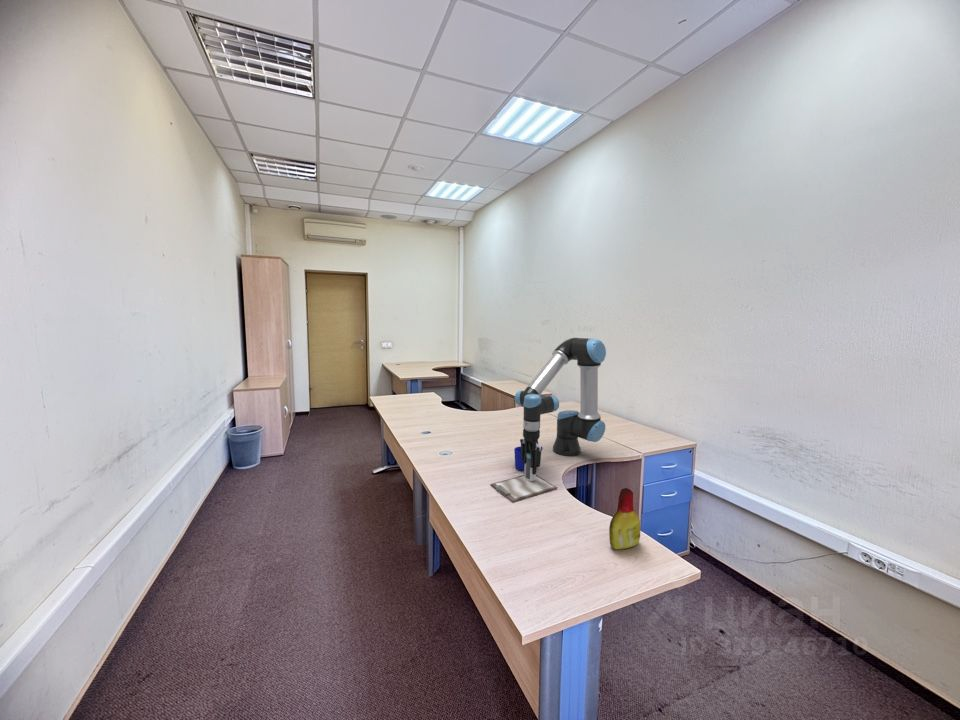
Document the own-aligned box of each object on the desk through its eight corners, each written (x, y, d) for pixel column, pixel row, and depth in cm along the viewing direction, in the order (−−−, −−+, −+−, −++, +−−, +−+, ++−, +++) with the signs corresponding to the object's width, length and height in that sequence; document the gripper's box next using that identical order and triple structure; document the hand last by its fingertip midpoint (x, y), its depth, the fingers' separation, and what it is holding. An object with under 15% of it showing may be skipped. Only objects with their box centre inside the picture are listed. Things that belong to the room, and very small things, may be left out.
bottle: (615, 555, 115) (619, 496, 113) (602, 543, 121) (605, 487, 119) (644, 547, 120) (648, 489, 117) (629, 536, 125) (633, 481, 123)
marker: (530, 477, 168) (531, 451, 166) (535, 480, 165) (536, 454, 163) (524, 479, 166) (524, 453, 165) (529, 482, 163) (529, 455, 162)
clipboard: (532, 474, 173) (532, 470, 173) (557, 489, 159) (557, 485, 159) (490, 485, 161) (490, 482, 161) (512, 502, 147) (512, 498, 146)
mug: (537, 473, 174) (538, 453, 173) (512, 471, 177) (513, 451, 175) (538, 466, 182) (539, 447, 181) (514, 464, 185) (515, 445, 183)
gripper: (513, 425, 168) (512, 473, 171) (536, 435, 154) (534, 487, 156) (526, 423, 172) (525, 470, 174) (550, 432, 157) (548, 484, 160)
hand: (529, 478), depth 165 cm, fingers closed on marker, 3 cm apart
